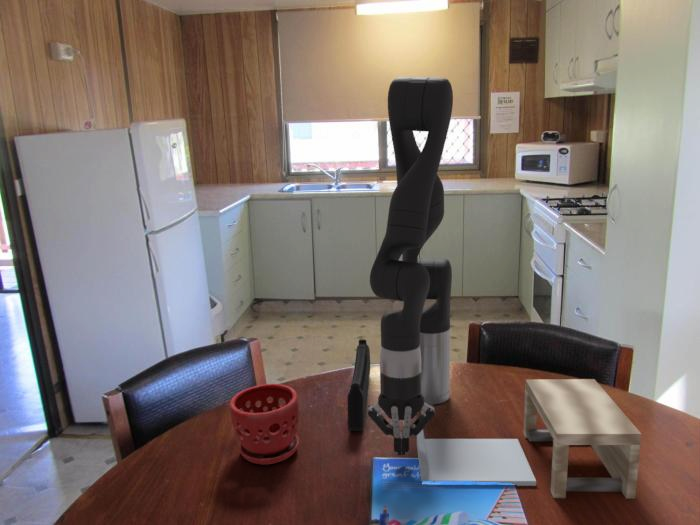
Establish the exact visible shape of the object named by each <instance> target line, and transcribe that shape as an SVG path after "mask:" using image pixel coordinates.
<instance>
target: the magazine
mask: <svg viewBox="0 0 700 525" xmlns="http://www.w3.org/2000/svg"><path fill="white" fill-rule="evenodd" d="M370 374H371V351H370V347H369V345H368V344H367V339H364V338H363V339H362V338H361V339H359V340H358V345H357V347H356V352H355V362H354V370H353V374H352V375H353V376H352V380H351V384H350V388H349V392H348V394H347V430H348V431H352V432H360V431H363V430H364V423H365V419H366V418H365V417H366V413H367V404H368V397H369V387H370V386H369V385H370Z"/></svg>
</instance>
